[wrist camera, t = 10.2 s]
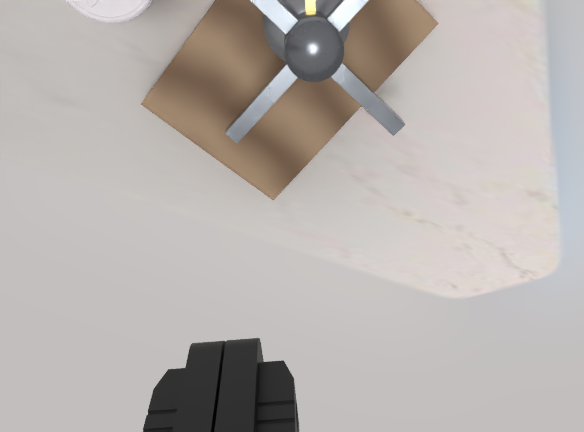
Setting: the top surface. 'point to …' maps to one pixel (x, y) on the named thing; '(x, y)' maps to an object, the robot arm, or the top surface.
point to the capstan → (310, 57)
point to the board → (257, 72)
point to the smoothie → (110, 9)
